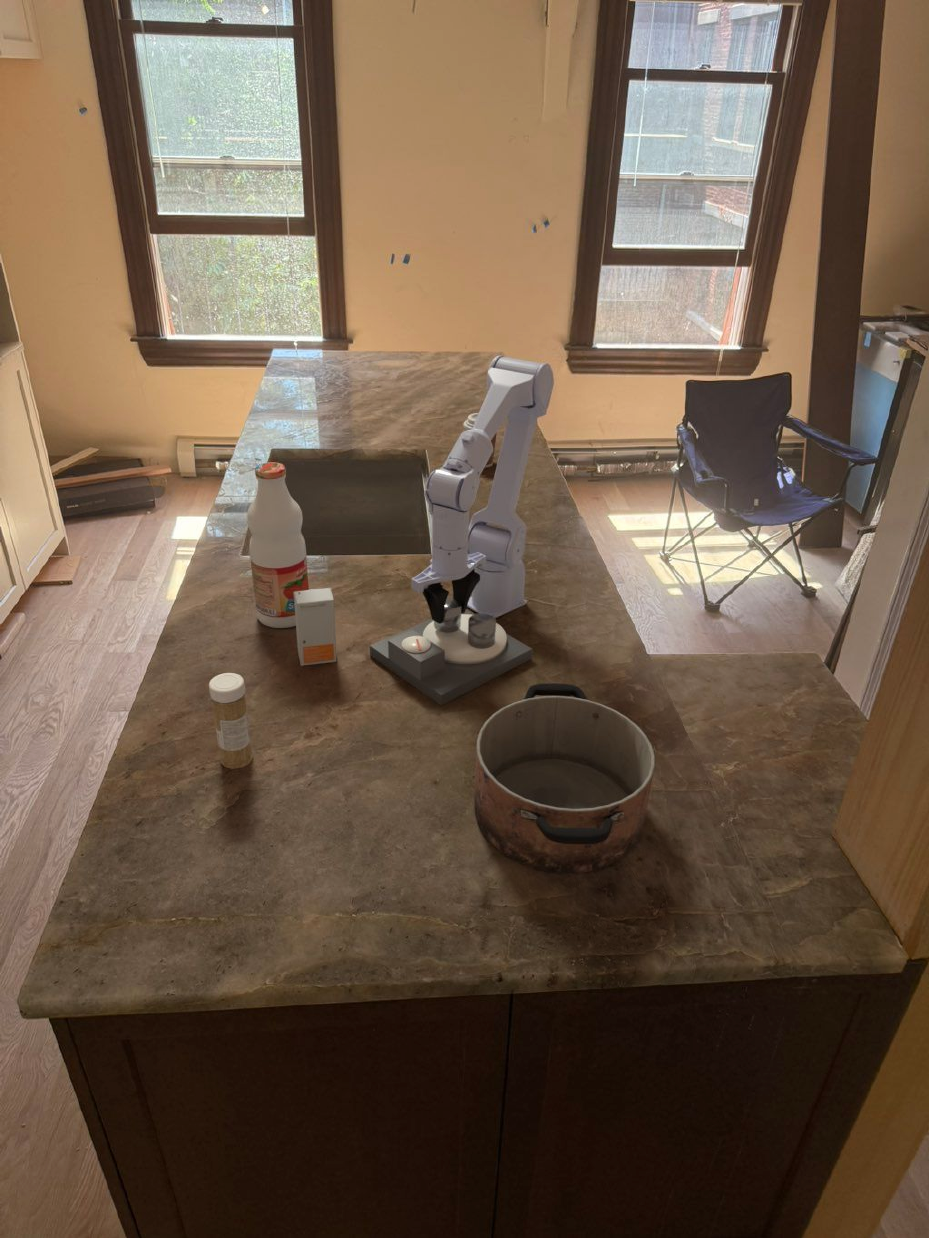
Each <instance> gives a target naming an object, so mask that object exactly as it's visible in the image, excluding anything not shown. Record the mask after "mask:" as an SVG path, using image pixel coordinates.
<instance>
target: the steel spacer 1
mask: <svg viewBox="0 0 929 1238" xmlns="http://www.w3.org/2000/svg"><path fill="white" fill-rule="evenodd" d="M461 606H462V605H461V603H460V602H459V601H458V600H455V599H453V597H452V598H449V597H447V599H446V603H445V608H444V620H443V623H441V624H439V623H437V622H435V621H434V627H435V629H436V630H438V631H440V632H445V633H451V632H455V631H457V630H459V629H460V627H461Z"/></svg>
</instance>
